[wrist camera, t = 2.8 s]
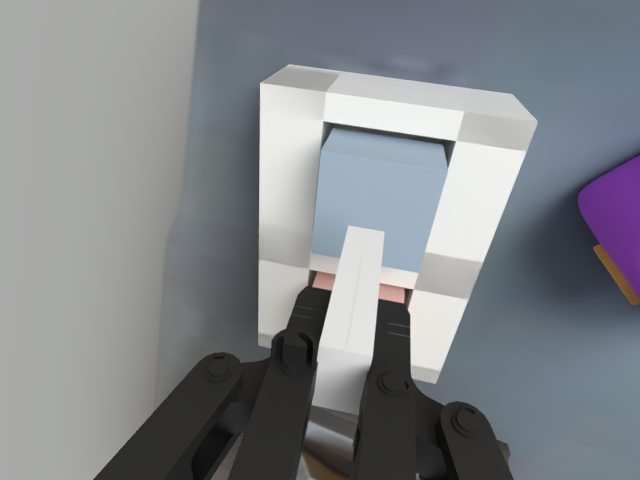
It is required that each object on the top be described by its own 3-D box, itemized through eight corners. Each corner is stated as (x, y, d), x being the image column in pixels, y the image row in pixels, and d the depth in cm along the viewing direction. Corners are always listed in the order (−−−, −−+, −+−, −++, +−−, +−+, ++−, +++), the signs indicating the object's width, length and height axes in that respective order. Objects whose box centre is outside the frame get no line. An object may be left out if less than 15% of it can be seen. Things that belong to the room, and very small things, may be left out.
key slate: (417, 237, 25) (418, 272, 22) (323, 220, 25) (311, 253, 22) (443, 144, 21) (448, 170, 18) (333, 127, 22) (320, 150, 19)
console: (432, 327, 35) (435, 383, 30) (278, 296, 37) (258, 345, 32) (512, 94, 24) (538, 121, 19) (289, 64, 26) (260, 82, 21)
